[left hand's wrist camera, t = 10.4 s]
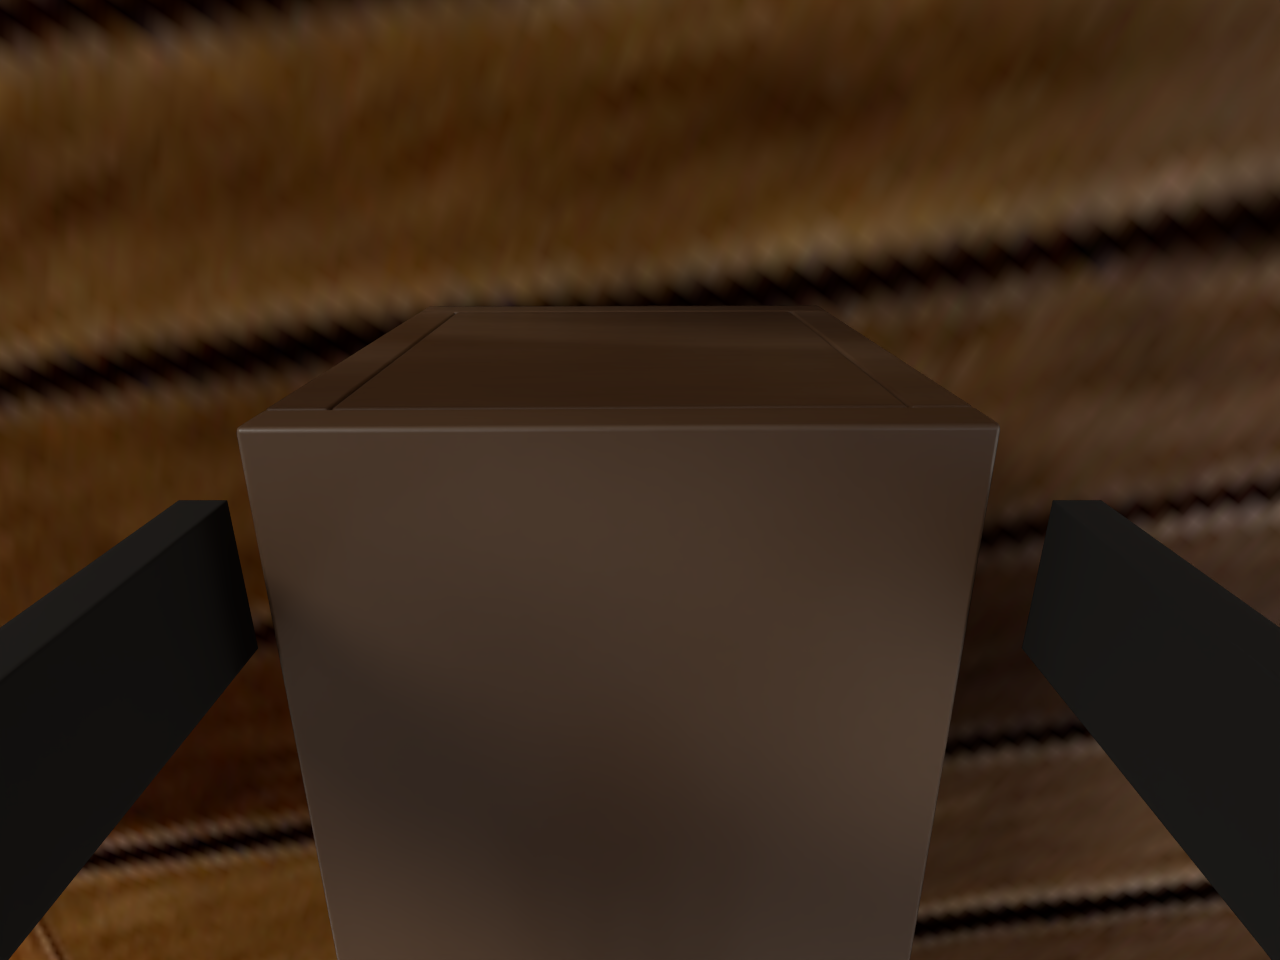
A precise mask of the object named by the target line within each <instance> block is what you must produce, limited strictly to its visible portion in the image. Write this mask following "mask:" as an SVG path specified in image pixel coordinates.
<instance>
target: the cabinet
mask: <svg viewBox="0 0 1280 960" xmlns="http://www.w3.org/2000/svg"><path fill="white" fill-rule="evenodd" d="M999 432H1000V426H999V424H998V423H997V422H995V421H993V420H992V419H990V418H989V417H987V416H986V415H984V414H983V413H981V412H980V411H978V410H977V409H975V408H972V407H971V405H969V404H968V403H966V402H964V401H963V400H961V399H960V398H958V397H957V396H955V395H954V394H952V393H951V392H949V391H948V390H946V389H944V388H943V387H941V386H940V385H938V384H937V383H935V382H934V381H932V380H931V379H929V378H928V377H926V376H924V375H923V374H921V373H920V372H918V371H917V370H915V369H914V368H912V367H911V366H909V365H908V364H906V363H904V362H903V361H901V360H900V359H898V358H897V357H895V356H894V355H892V354H891V353H889V352H888V351H886V350H885V349H883V348H881V347H880V346H878V345H877V344H875V343H874V342H872V341H871V340H869V339H868V338H866V337H865V336H863V335H861V334H860V333H858V332H857V331H855V330H854V329H852V328H851V327H849V326H848V325H846V324H845V323H843V322H841V321H840V320H838V319H837V318H835V317H834V316H832V315H831V314H829V313H828V312H826V311H825V310H823V309H822V308H820V307H819V306H503V307H428V308H426V309H425V310H423V311H422V312H420V313H418V314H417V315H415V316H414V317H412V318H410V319H409V320H407V321H406V322H404V323H402V324H401V325H399V326H398V327H396V328H395V329H393V330H391V331H390V332H388V333H387V334H385V335H383V336H382V337H380V338H379V339H377V340H375V341H374V342H372V343H371V344H369V345H368V346H366V347H364V348H363V349H361V350H360V351H358V352H356V353H355V354H353V355H352V356H350V357H348V358H347V359H345V360H344V361H342V362H341V363H339V364H337V365H336V366H334V367H333V368H331V369H329V370H328V371H326V372H325V373H323V374H321V375H320V376H318V377H317V378H315V379H313V380H312V381H310V382H309V383H307V384H306V385H304V386H302V387H301V388H299V389H298V390H296V391H294V392H293V393H291V394H290V395H288V396H286V397H285V398H283V399H282V400H280V401H279V402H277V403H275V404H274V405H272V406H271V407H269V408H267V410H266V411H264V412H262V413H260V414H259V415H257V416H256V417H254V418H252V419H251V420H249V421H248V422H246V423H244V424H243V425H241V426H240V427H238V429H237V438H238V443H239V448H240V453H241V459H242V464H243V469H244V474H245V479H246V485H247V490H248V495H249V500H250V506H251V511H252V516H253V521H254V526H255V532H256V537H257V542H258V547H259V552H260V558H261V563H262V568H263V573H264V579H265V584H266V589H267V594H268V599H269V605H270V610H271V615H272V620H273V626H274V631H275V636H276V641H277V646H278V652H279V657H280V662H281V667H282V673H283V678H284V683H285V688H286V693H287V699H288V704H289V709H290V714H291V719H292V725H293V730H294V735H295V740H296V746H297V751H298V756H299V761H300V766H301V772H302V777H303V782H304V787H305V793H306V798H307V803H308V808H309V813H310V819H311V824H312V829H313V834H314V839H315V845H316V850H317V855H318V860H319V866H320V871H321V876H322V881H323V886H324V892H325V897H326V902H327V907H328V913H329V918H330V923H331V928H332V933H333V939H334V944H335V949H336V954H337V960H910V956H911V950H912V944H913V938H914V932H915V927H916V921H917V915H918V909H919V903H920V897H921V891H922V885H923V879H924V874H925V868H926V862H927V856H928V850H929V844H930V838H931V832H932V827H933V821H934V815H935V809H936V803H937V797H938V791H939V785H940V779H941V774H942V768H943V762H944V756H945V750H946V744H947V738H948V732H949V726H950V721H951V715H952V709H953V703H954V697H955V691H956V685H957V679H958V673H959V668H960V662H961V656H962V650H963V644H964V638H965V632H966V626H967V621H968V615H969V609H970V603H971V597H972V591H973V585H974V579H975V573H976V568H977V562H978V556H979V550H980V544H981V538H982V532H983V526H984V520H985V515H986V509H987V503H988V497H989V491H990V485H991V479H992V473H993V467H994V462H995V456H996V450H997V444H998V438H999Z"/></svg>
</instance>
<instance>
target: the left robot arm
mask: <svg viewBox="0 0 1280 960" xmlns="http://www.w3.org/2000/svg"><path fill="white" fill-rule="evenodd" d="M257 649H258V646H257V641H256V636H255V632H254V627H253V622H252V617H251V612H250V608H249V603H248V598H247V593H246V589H245V584H244V579H243V574H242V569H241V565H240V560H239V555H238V550H237V545H236V541H235V536H234V531H233V526H232V522H231V517H230V512H229V507H228V502H227V500H179V501H177V502H176V503H175V504H173V505H172V506H170V507H169V508H168V509H166V510H165V511H163V512H162V513H161V514H159V515H158V516H156V517H155V518H154V519H152V520H151V521H149V522H148V523H147V524H145V525H144V526H142V527H141V528H140V529H138V530H137V531H135V532H134V533H133V534H131V535H130V536H128V537H127V538H125V539H124V540H123V541H121V542H120V543H118V544H117V545H116V546H114V547H113V548H111V549H110V550H109V551H107V552H106V553H104V554H103V555H102V556H100V557H99V558H97V559H96V560H95V561H93V562H92V563H90V564H89V565H88V566H86V567H85V568H83V569H82V570H81V571H79V572H78V573H76V574H75V575H74V576H72V577H71V578H69V579H68V580H67V581H65V582H64V583H62V584H61V585H60V586H58V587H57V588H55V589H54V590H53V591H51V592H50V593H48V594H47V595H46V596H44V597H43V598H41V599H40V600H39V601H37V602H36V603H34V604H33V605H31V606H30V607H29V608H27V609H26V610H24V611H23V612H22V613H20V614H19V615H17V616H16V617H15V618H13V619H12V620H10V621H9V622H8V623H6V624H5V625H3V626H2V627H1V628H0V960H9V958H10V957H11V956H12V955H13V953H14V952H15V951H16V950H17V948H18V947H19V946H20V945H21V943H22V942H23V941H24V940H25V938H26V937H27V936H28V935H29V933H30V932H31V931H32V930H33V928H34V927H35V926H36V925H37V923H38V922H39V921H40V920H41V918H42V917H43V916H44V915H45V913H46V912H47V911H48V910H49V908H50V907H51V906H52V905H53V903H54V902H55V901H56V900H57V898H58V897H59V896H60V895H61V893H62V892H63V891H64V890H65V888H66V887H67V886H68V885H69V883H70V882H71V881H72V880H73V878H74V877H75V876H76V875H77V873H78V872H79V871H80V870H81V868H82V867H83V866H84V865H85V863H86V862H87V861H88V860H89V858H90V857H91V856H92V855H93V853H94V852H95V851H96V850H97V848H98V847H99V846H100V845H101V844H102V842H103V841H104V840H105V839H106V837H107V836H108V835H109V834H110V832H111V831H112V830H113V829H114V827H115V826H116V825H117V824H118V822H119V821H120V820H121V819H122V817H123V816H124V815H125V814H126V812H127V811H128V810H129V809H130V807H131V806H132V805H133V804H134V802H135V801H136V800H137V799H138V797H139V796H140V795H141V794H142V792H143V791H144V790H145V789H146V787H147V786H148V785H149V784H150V782H151V781H152V780H153V779H154V777H155V776H156V775H157V774H158V772H159V771H160V770H161V769H162V767H163V766H164V765H165V764H166V762H167V761H168V760H169V759H170V757H171V756H172V755H173V754H174V752H175V751H176V750H177V749H178V747H179V746H180V745H181V744H182V742H183V741H184V740H185V739H186V737H187V736H188V735H189V734H190V732H191V731H192V730H193V729H194V728H195V726H196V725H197V724H198V723H199V721H200V720H201V719H202V718H203V716H204V715H205V714H206V713H207V711H208V710H209V709H210V708H211V706H212V705H213V704H214V703H215V701H216V700H217V699H218V698H219V696H220V695H221V694H222V693H223V691H224V690H225V689H226V688H227V686H228V685H229V684H230V683H231V681H232V680H233V679H234V678H235V676H236V675H237V674H238V673H239V671H240V670H241V669H242V668H243V666H244V665H245V664H246V663H247V661H248V660H249V659H250V658H251V656H252V655H253V654H254V653H255V651H256V650H257ZM1022 649H1023V650H1024V651H1025V653H1026V654H1027V655H1028V656H1029V658H1030V659H1031V660H1032V661H1033V663H1034V664H1035V665H1036V666H1037V668H1038V669H1039V670H1040V671H1041V673H1042V674H1043V675H1044V676H1045V678H1046V679H1047V680H1048V681H1049V683H1050V684H1051V685H1052V686H1053V688H1054V689H1055V690H1056V691H1057V693H1058V694H1059V695H1060V696H1061V698H1062V699H1063V700H1064V701H1065V703H1066V704H1067V705H1068V706H1069V708H1070V709H1071V710H1072V711H1073V713H1074V714H1075V715H1076V716H1077V718H1078V719H1079V720H1080V721H1081V723H1082V724H1083V725H1084V726H1085V728H1086V729H1087V730H1088V731H1089V732H1090V734H1091V735H1092V736H1093V737H1094V739H1095V740H1096V741H1097V742H1098V744H1099V745H1100V746H1101V747H1102V749H1103V750H1104V751H1105V752H1106V754H1107V755H1108V756H1109V757H1110V759H1111V760H1112V761H1113V762H1114V764H1115V765H1116V766H1117V767H1118V769H1119V770H1120V771H1121V772H1122V774H1123V775H1124V776H1125V777H1126V779H1127V780H1128V781H1129V782H1130V784H1131V785H1132V786H1133V787H1134V789H1135V790H1136V791H1137V792H1138V794H1139V795H1140V796H1141V797H1142V799H1143V800H1144V801H1145V802H1146V804H1147V805H1148V806H1149V807H1150V809H1151V810H1152V811H1153V812H1154V814H1155V815H1156V816H1157V817H1158V819H1159V820H1160V821H1161V822H1162V824H1163V825H1164V826H1165V827H1166V829H1167V830H1168V831H1169V832H1170V834H1171V835H1172V836H1173V837H1174V839H1175V840H1176V841H1177V842H1178V844H1179V845H1180V846H1181V847H1182V848H1183V850H1184V851H1185V852H1186V853H1187V855H1188V856H1189V857H1190V858H1191V860H1192V861H1193V862H1194V863H1195V865H1196V866H1197V867H1198V868H1199V870H1200V871H1201V872H1202V873H1203V875H1204V876H1205V877H1206V878H1207V880H1208V881H1209V882H1210V883H1211V885H1212V886H1213V887H1214V888H1215V890H1216V891H1217V892H1218V893H1219V895H1220V896H1221V897H1222V898H1223V900H1224V901H1225V902H1226V903H1227V905H1228V906H1229V907H1230V908H1231V910H1232V911H1233V912H1234V913H1235V915H1236V916H1237V917H1238V918H1239V920H1240V921H1241V922H1242V923H1243V925H1244V926H1245V927H1246V928H1247V930H1248V931H1249V932H1250V933H1251V935H1252V936H1253V937H1254V938H1255V940H1256V941H1257V942H1258V943H1259V945H1260V946H1261V947H1262V948H1263V950H1264V951H1265V952H1266V953H1267V955H1268V956H1269V957H1270V958H1271V960H1280V628H1279V627H1278V626H1277V625H1275V624H1274V623H1272V622H1271V621H1270V620H1268V619H1267V618H1265V617H1264V616H1263V615H1261V614H1260V613H1258V612H1257V611H1256V610H1254V609H1253V608H1251V607H1250V606H1249V605H1247V604H1246V603H1244V602H1243V601H1241V600H1240V599H1239V598H1237V597H1236V596H1234V595H1233V594H1232V593H1230V592H1229V591H1227V590H1226V589H1225V588H1223V587H1222V586H1220V585H1219V584H1218V583H1216V582H1215V581H1213V580H1212V579H1211V578H1209V577H1208V576H1206V575H1205V574H1204V573H1202V572H1201V571H1199V570H1198V569H1197V568H1195V567H1194V566H1192V565H1191V564H1190V563H1188V562H1187V561H1185V560H1184V559H1183V558H1181V557H1180V556H1178V555H1177V554H1176V553H1174V552H1173V551H1171V550H1170V549H1169V548H1167V547H1166V546H1164V545H1163V544H1162V543H1160V542H1159V541H1157V540H1156V539H1155V538H1153V537H1152V536H1150V535H1149V534H1147V533H1146V532H1145V531H1143V530H1142V529H1140V528H1139V527H1138V526H1136V525H1135V524H1133V523H1132V522H1131V521H1129V520H1128V519H1126V518H1125V517H1124V516H1122V515H1121V514H1119V513H1118V512H1117V511H1115V510H1114V509H1112V508H1111V507H1110V506H1108V505H1107V504H1105V503H1104V502H1103V501H1101V500H1053V502H1052V507H1051V512H1050V517H1049V522H1048V526H1047V531H1046V536H1045V541H1044V545H1043V550H1042V555H1041V560H1040V565H1039V569H1038V574H1037V579H1036V584H1035V588H1034V593H1033V598H1032V603H1031V608H1030V612H1029V617H1028V622H1027V627H1026V632H1025V636H1024V641H1023V646H1022Z"/></svg>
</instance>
